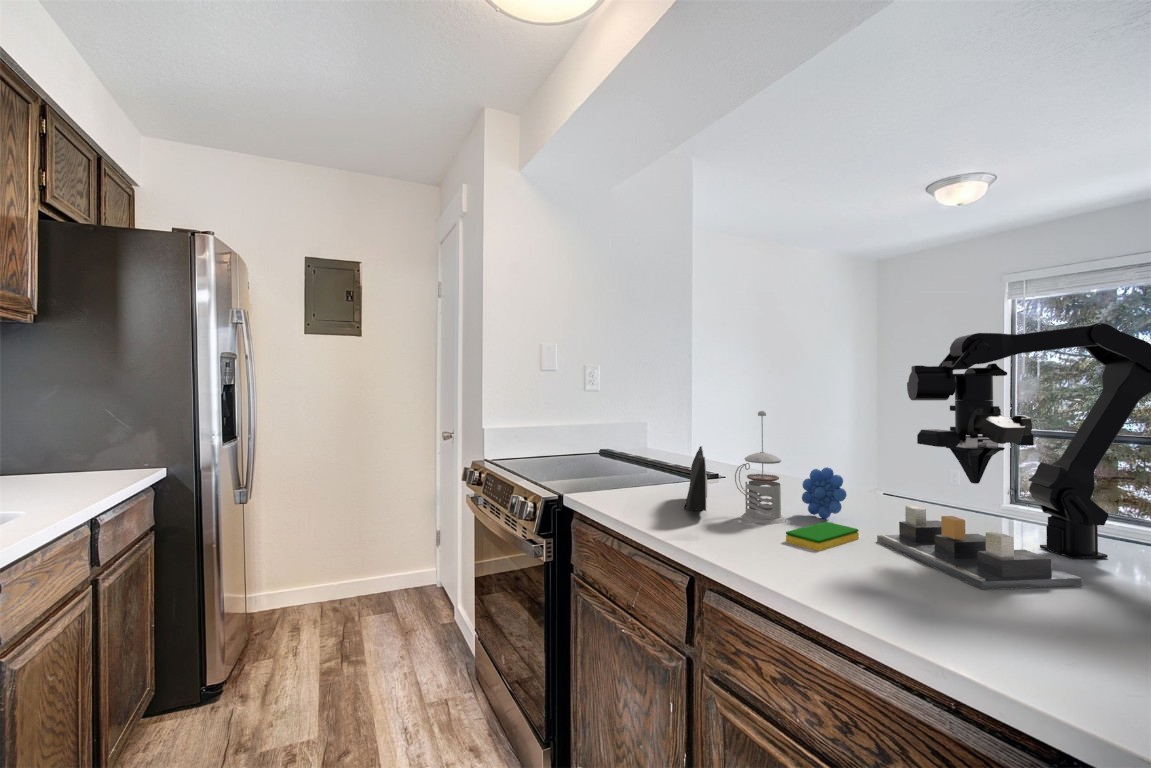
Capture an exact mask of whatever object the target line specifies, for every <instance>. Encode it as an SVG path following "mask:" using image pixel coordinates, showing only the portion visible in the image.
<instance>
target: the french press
mask: <svg viewBox="0 0 1151 768" xmlns="http://www.w3.org/2000/svg"><path fill="white" fill-rule="evenodd" d="M757 416H758V417H761V451H760V452H755V453H752V454H749V455H747V456H745V457H744V459H743V460H744V461H745V462H746V463H742V464H741V465H739V466H738V467H737V468H736V470H735V473H734V482H735V486H736V488H737V490H738V491H739V492H740V493H741V494H743V496H744V497H745V499H744V500H745V513H743V514H742V515H741V517H740V518H741V519H742V520H744V521H746V522H749V523H753V524H754V523H755V524H761V525H778V524H783V523H785V522H786V518H785V517H784V516H783V515H782V505H781V504H782V503H781V502H782V501H781V499H782V498H781V497H782V496H781V495H782V493H781V492H782V491H781V490H782V489H781V483H780V482H777V481H778V480H779V479H780V477H779V476H778V475H775V474H768V473H767V474H766V473H764V464H765V465H766V464H767V465H768V464H769V465H771V464H772V465H773V464H774V465H775V464H780V463H781V462H782V459H780V458H779V456H777V455H774V454H772V453H768V452H765V451H764V438H763V437H764V434H763V433H764V430H763V429H764V427H763V426H764V425H763V420H764V419H763V417H766V416H767V413H766V412H765V411H764V410H759V411H758V412H757ZM750 463H753V464H761V467H762V469H761V473H754V474H753V473H750V474H747V475H746V478H747V479H748V481H745V486H744V487H745V489H744V487H743V486H742V483H741V480H740V479H741V472H742V469H743V468H745V470H746V471H748V470H749V469H750V468H751V464H750ZM747 465H748V468H747ZM737 473H738V481H739V486H740V488H741V489H742V490H743V491H742V490H741V489H740V488H739V486H738V483H737ZM744 492H745V493H744ZM763 497H766V498H763ZM767 497H770V498H767ZM763 502H764V503H763ZM769 503H771V504H769Z"/></svg>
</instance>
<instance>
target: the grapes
mask: <svg viewBox="0 0 1151 768" xmlns="http://www.w3.org/2000/svg"><path fill="white" fill-rule="evenodd" d="M834 473H835V472H834V470H833V469H832V468H831V467H828V466H827V467H824V468H822V469H821V470H820V469H818V468H814V469H812V470H811V471H810V472H809V477H808V478H805V479H804V480H803V482H802V488H803V490H804V492H803V493H802V496H801V501H802V502H803V503H804V504H807V505H808V506H807V511H808V513H809V514H810V515H813V516H816V515H818V517H820V518H821V519H823V520H826V519H829V518H830V517H831V514H834V515H837V514H839V513H840V512H841V510H842V508H843V507H842V503H841V502H843V501H845V499H847V491H846V490H845V489H844V488H841V487H842V486H843V484H844V478H843V477H842V476H841V475H839V474H834Z"/></svg>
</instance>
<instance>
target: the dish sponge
mask: <svg viewBox="0 0 1151 768" xmlns="http://www.w3.org/2000/svg"><path fill="white" fill-rule="evenodd" d="M859 530H860V529H858V528H856V527H851V526H846V525H843V524H838V523H833V522H829V521H823V522H820V523H816V524H812V525H808V526H804V527H799V528H796V529H792V530H788V531H785V534H786V535H785V542H786V543H788V544H792V545H796V546H799V547H802V548H806V549H809V550H813V551H816V552H821V551H823V550H824V551H825V550H828V549H830V548H833V547H834V548H835V547H837V546H840V545H843V544H847V543H850V542H854V541H857V540H859V539H860V537H859V535H860V534H859Z"/></svg>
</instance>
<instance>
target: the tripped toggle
mask: <svg viewBox="0 0 1151 768" xmlns="http://www.w3.org/2000/svg"><path fill="white" fill-rule="evenodd" d="M940 517H941V518H940V519H941V527H942V535H945V536H947V537H950V538H953V539H965V534H966V520H965V519H963V518H960V517H957V516H954V515H944V516H943V515H941V516H940Z"/></svg>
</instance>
